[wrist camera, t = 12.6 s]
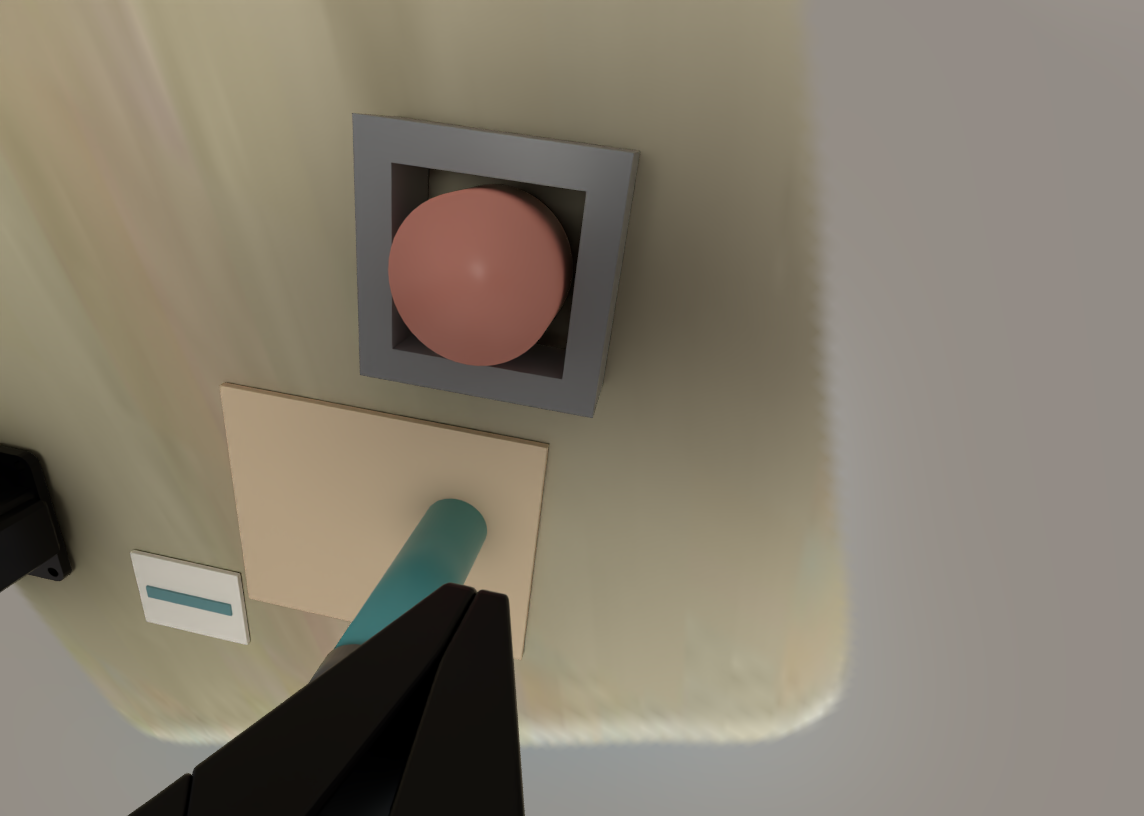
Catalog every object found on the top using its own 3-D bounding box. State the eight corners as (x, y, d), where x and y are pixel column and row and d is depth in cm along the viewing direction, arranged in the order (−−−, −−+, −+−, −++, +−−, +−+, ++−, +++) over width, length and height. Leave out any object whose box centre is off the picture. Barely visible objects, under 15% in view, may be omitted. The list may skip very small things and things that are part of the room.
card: (150, 618, 28) (144, 622, 27) (133, 549, 26) (127, 553, 26) (250, 641, 27) (245, 646, 27) (240, 573, 25) (235, 577, 25)
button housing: (396, 348, 20) (359, 374, 18) (395, 116, 17) (352, 113, 15) (602, 385, 19) (592, 417, 17) (640, 150, 16) (633, 153, 14)
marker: (423, 546, 23) (301, 740, 15) (424, 491, 22) (294, 672, 14) (486, 559, 23) (393, 763, 15) (490, 504, 22) (393, 695, 14)
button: (424, 324, 18) (388, 350, 16) (426, 173, 17) (387, 178, 14) (563, 349, 18) (547, 379, 16) (582, 196, 16) (566, 205, 14)
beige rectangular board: (253, 593, 26) (249, 598, 26) (225, 382, 22) (219, 385, 21) (522, 654, 25) (521, 660, 24) (548, 444, 20) (547, 448, 20)
